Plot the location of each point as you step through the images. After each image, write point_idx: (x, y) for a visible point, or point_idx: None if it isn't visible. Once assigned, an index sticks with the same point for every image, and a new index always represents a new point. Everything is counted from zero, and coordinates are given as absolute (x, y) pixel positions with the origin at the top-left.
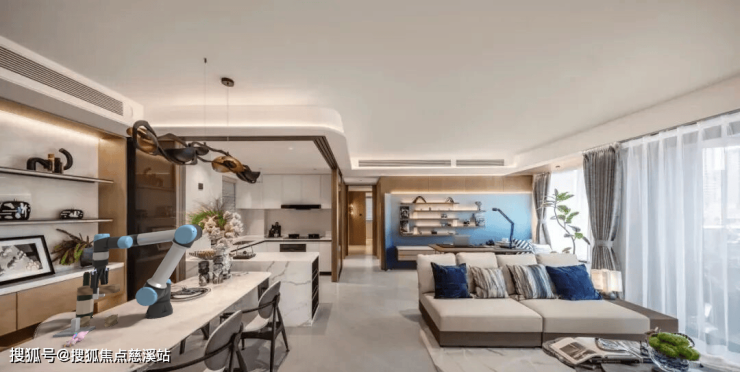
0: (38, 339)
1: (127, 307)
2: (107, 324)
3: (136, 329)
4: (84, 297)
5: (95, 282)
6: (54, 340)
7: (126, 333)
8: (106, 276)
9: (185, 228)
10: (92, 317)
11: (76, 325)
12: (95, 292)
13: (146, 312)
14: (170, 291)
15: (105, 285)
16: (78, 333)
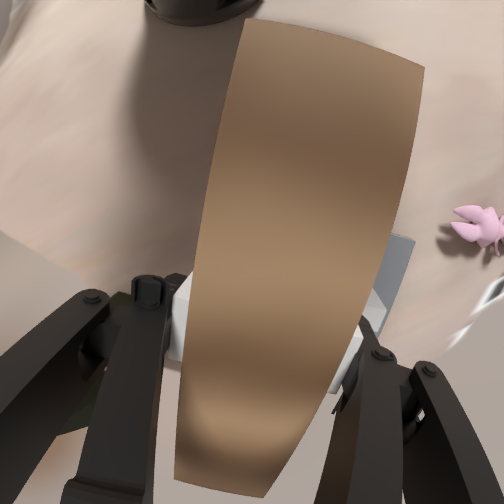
0: None
1: (15, 198)
2: None
3: (426, 30)
4: (99, 387)
5: (460, 421)
6: (416, 318)
7: (463, 63)
8: (32, 393)
9: None
10: (119, 292)
11: (371, 292)
12: (369, 325)
13: (217, 7)
14: None
15: (304, 268)
16: (493, 233)
